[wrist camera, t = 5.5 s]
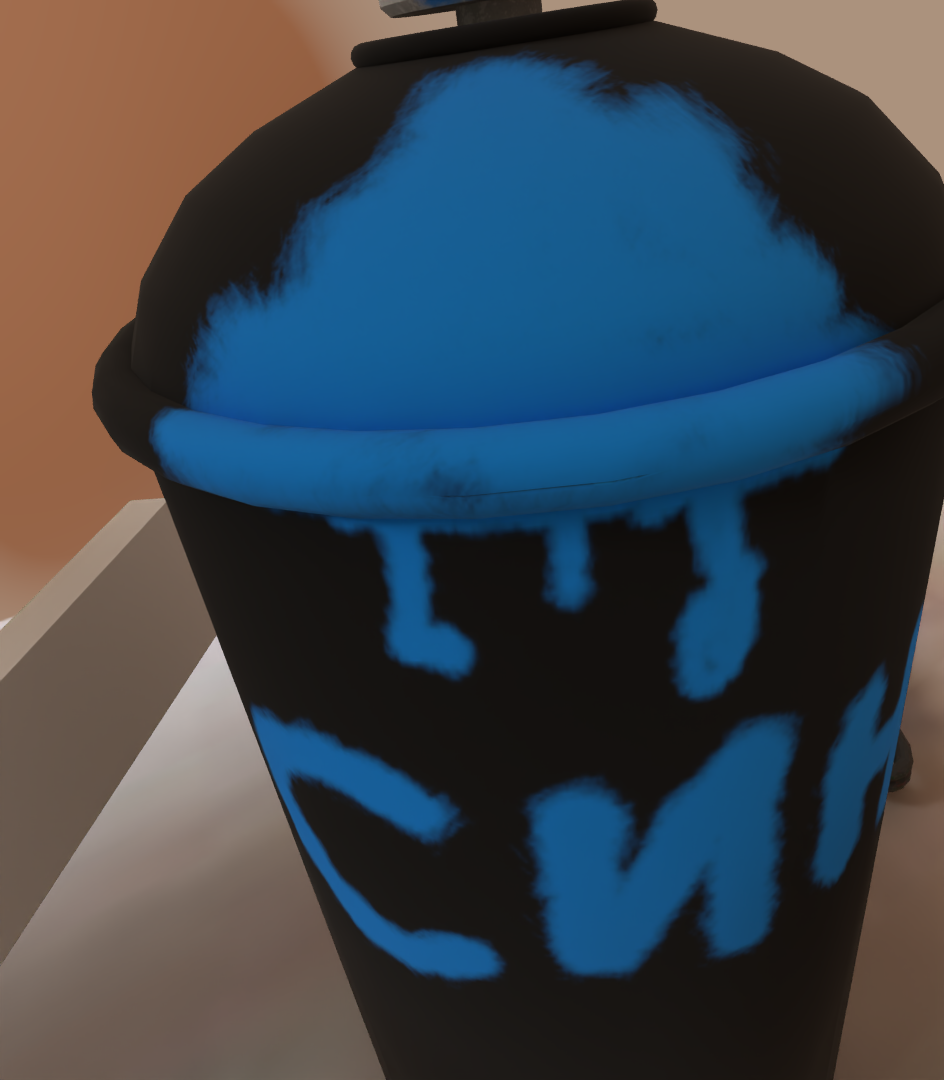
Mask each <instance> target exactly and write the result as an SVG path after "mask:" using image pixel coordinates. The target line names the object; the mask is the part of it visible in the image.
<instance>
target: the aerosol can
mask: <svg viewBox="0 0 944 1080" xmlns="http://www.w3.org/2000/svg"><path fill="white" fill-rule="evenodd" d="M379 4H380V8H381V10H383V11H384V12H385V13H386V14H387V15H388V16H390V17H391V18H401V17H411V16H419V15H427V14H434V13H441V12H448V11H455V10H456V16H457V25H458V26H456V27H450V28H444V29H438V30H432V31H426V32H420V33H415V34H409V35H403V36H397V37H391V38H386V39H381V40H375V41H370V42H365V43H361V44H359V45H357V46H355V47H354V48H353V50H352V52H351V60H352V62H353V65H354V66H355V67H357V68H355V69H354V70H352V71H350V72H349V73H347V74H346V75H344V76H342V77H341V78H339V79H338V80H336V81H334V82H333V83H331V84H330V85H328V86H326V87H325V88H323V89H322V90H320V91H318V92H317V93H315V94H313V95H312V96H310V97H309V98H307V99H306V100H304V101H302V102H301V103H299V104H297V105H296V106H294V107H293V108H291V109H290V110H288V111H286V112H285V113H283V114H281V115H280V116H278V117H277V118H275V119H274V120H272V121H270V122H269V123H267V124H266V125H264V126H262V127H261V128H259V129H257V130H256V131H254V132H253V133H252V134H251V135H250V136H249V137H248V138H247V139H245V140H244V141H243V142H242V143H241V144H240V145H239V146H238V147H237V148H236V149H235V150H234V151H233V152H232V153H231V154H229V156H227V157H226V158H225V159H224V160H223V161H222V162H221V163H220V164H219V165H218V166H217V167H216V168H215V169H213V170H212V171H211V172H210V173H209V174H208V175H207V176H206V177H205V178H204V179H203V180H202V181H201V182H200V183H199V184H198V185H196V186H195V187H194V188H193V189H192V190H191V191H190V192H189V193H188V194H187V195H186V196H185V198H184V200H183V201H182V204H181V205H180V207H179V209H178V211H177V213H176V215H175V217H174V219H173V221H172V223H171V224H170V226H169V228H168V230H167V232H166V234H165V236H164V238H163V240H162V242H161V244H160V246H159V248H158V250H157V251H156V253H155V255H154V257H153V259H152V261H151V263H150V265H149V267H148V269H147V271H146V272H145V274H144V276H143V278H142V280H141V285H140V292H139V299H138V306H137V312H136V318H134V319H133V320H132V321H130V322H129V323H128V324H127V325H125V326H124V327H122V328H121V329H120V331H119V332H118V333H117V335H116V336H115V337H114V339H113V340H112V341H111V343H110V344H109V345H108V347H107V348H106V349H105V351H104V352H103V353H102V355H101V357H100V359H99V361H98V362H97V364H96V368H95V374H94V381H93V389H92V397H93V408H94V410H95V412H96V413H97V415H98V417H99V418H100V420H101V422H102V423H103V425H104V426H105V428H106V430H107V431H108V433H109V435H110V436H111V438H112V439H113V440H114V442H115V443H116V444H117V446H119V448H120V449H121V451H122V452H124V453H125V454H127V455H129V456H130V457H132V458H133V459H135V460H137V461H138V462H140V463H142V464H143V465H145V466H147V467H148V468H150V469H152V470H153V471H154V472H155V475H156V477H157V480H158V483H159V485H160V488H161V490H162V493H163V496H164V498H165V501H166V504H167V506H168V509H169V511H170V514H171V517H172V519H173V522H174V525H175V527H176V530H177V532H178V535H179V538H180V540H181V543H182V546H183V548H184V551H185V553H186V556H187V559H188V561H189V564H190V567H191V569H192V572H193V574H194V577H195V580H196V582H197V585H198V588H199V590H200V593H201V595H202V598H203V601H204V603H205V606H206V608H207V611H208V614H209V616H210V619H211V622H212V624H213V627H214V629H215V632H216V635H217V637H218V640H219V643H220V645H221V648H222V650H223V653H224V656H225V658H226V661H227V664H228V666H229V669H230V671H231V674H232V677H233V679H234V682H235V684H236V687H237V690H238V692H239V695H240V698H241V700H242V703H243V705H244V708H245V711H246V713H247V716H248V719H249V721H250V724H251V726H252V729H253V732H254V734H255V737H256V740H257V742H258V745H259V747H260V750H261V753H262V755H263V758H264V760H265V763H266V766H267V768H268V771H269V774H270V776H271V779H272V781H273V784H274V787H275V789H276V792H277V795H278V797H279V800H280V802H281V805H282V808H283V810H284V813H285V816H286V818H287V821H288V823H289V826H290V829H291V831H292V834H293V837H294V839H295V842H296V844H297V847H298V850H299V852H300V855H301V857H302V860H303V863H304V865H305V868H306V871H307V873H308V876H309V878H310V881H311V884H312V886H313V889H314V892H315V894H316V897H317V899H318V902H319V905H320V907H321V910H322V913H323V915H324V918H325V920H326V923H327V926H328V928H329V931H330V933H331V936H332V939H333V941H334V944H335V947H336V949H337V952H338V954H339V957H340V960H341V962H342V965H343V968H344V970H345V973H346V975H347V978H348V981H349V983H350V986H351V989H352V991H353V994H354V996H355V999H356V1002H357V1004H358V1007H359V1009H360V1012H361V1015H362V1017H363V1020H364V1023H365V1025H366V1028H367V1030H368V1033H369V1036H370V1038H371V1041H372V1044H373V1046H374V1049H375V1051H376V1054H377V1057H378V1059H379V1062H380V1065H381V1067H382V1070H383V1072H384V1075H385V1078H386V1080H833V1076H834V1071H835V1066H836V1060H837V1055H838V1050H839V1045H840V1040H841V1034H842V1029H843V1024H844V1019H845V1013H846V1008H847V1003H848V998H849V992H850V987H851V982H852V977H853V971H854V966H855V961H856V956H857V950H858V945H859V940H860V935H861V930H862V924H863V919H864V914H865V909H866V903H867V898H868V893H869V888H870V882H871V877H872V872H873V867H874V861H875V856H876V851H877V846H878V840H879V835H880V830H881V825H882V820H883V814H884V809H885V804H886V799H887V793H888V788H889V783H890V778H891V772H892V767H893V762H894V757H895V751H896V746H897V741H898V736H899V730H900V725H901V720H902V715H903V710H904V704H905V699H906V694H907V689H908V683H909V678H910V673H911V668H912V662H913V657H914V652H915V647H916V641H917V636H918V631H919V626H920V620H921V615H922V610H923V605H924V599H925V594H926V589H927V584H928V579H929V573H930V568H931V563H932V558H933V552H934V547H935V542H936V537H937V531H938V526H939V521H940V516H941V510H942V505H943V500H944V184H943V181H942V179H941V176H940V174H939V172H938V171H937V170H936V169H935V168H934V167H933V166H932V165H931V164H930V163H929V162H928V161H927V159H926V158H925V157H924V156H923V155H922V154H921V153H920V152H919V151H918V150H917V149H916V148H915V146H914V145H913V144H912V143H911V142H910V141H909V140H908V139H907V138H906V137H905V136H904V135H903V134H902V133H901V131H900V130H899V129H898V128H897V127H896V126H895V125H894V124H893V123H892V122H891V121H890V120H889V119H888V117H887V116H886V115H885V114H884V113H883V112H882V111H881V110H880V109H879V108H878V107H877V106H876V105H875V103H874V102H873V101H872V100H871V99H870V98H869V97H868V96H866V95H864V94H863V93H861V92H859V91H857V90H855V89H853V88H851V87H849V86H847V85H845V84H843V83H841V82H839V81H837V80H835V79H833V78H831V77H829V76H827V75H824V74H822V73H820V72H818V71H816V70H814V69H812V68H810V67H808V66H806V65H804V64H802V63H800V62H798V61H796V60H794V59H792V58H790V57H787V56H785V55H783V54H781V53H779V52H777V51H773V50H769V49H765V48H761V47H757V46H753V45H749V44H745V43H741V42H737V41H733V40H729V39H725V38H721V37H717V36H713V35H709V34H705V33H701V32H697V31H693V30H689V29H685V28H682V27H677V26H673V25H670V24H665V23H662V22H657V21H654V19H655V17H656V14H657V6H656V3H655V2H654V1H653V0H620V1H614V2H608V3H601V4H593V5H587V6H580V7H574V8H567V9H561V10H554V11H548V12H542V3H541V0H379Z"/></svg>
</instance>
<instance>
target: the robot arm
mask: <svg viewBox="0 0 944 1080" xmlns="http://www.w3.org/2000/svg"><path fill="white" fill-rule="evenodd" d="M215 637H216V632H215V629H214V627H213V624H212V622H211V619H210V616H209V614H208V611H207V608H206V606H205V603H204V601H203V598H202V595H201V593H200V590H199V588H198V585H197V582H196V580H195V577H194V574H193V572H192V569H191V567H190V564H189V561H188V559H187V556H186V553H185V551H184V548H183V546H182V543H181V540H180V538H179V535H178V532H177V530H176V527H175V525H174V522H173V519H172V517H171V514H170V511H169V509H168V506H167V504H166V501H165V498H162V499H148V500H133V501H129V502H128V503H127V504H126V506H124V508H122V509H121V510H120V511H119V512H118V513H117V514H116V516H114V517H113V518H112V519H111V520H110V522H108V523H107V524H106V525H105V526H104V527H103V528H102V529H101V530H100V531H99V532H98V533H97V535H95V536H94V537H93V539H91V540H90V542H88V543H87V544H86V545H85V547H83V548H82V550H80V552H78V553H77V554H76V555H75V557H74V558H72V559H71V561H69V562H68V563H67V564H66V565H65V566H64V568H62V569H61V570H60V571H59V573H57V574H56V575H55V576H54V577H53V578H52V579H51V580H50V582H48V583H47V584H46V585H45V586H44V587H43V589H42V590H41V591H39V592H38V594H37V595H36V596H34V598H32V599H31V601H30V602H29V603H27V604H26V606H24V607H23V608H22V609H21V610H20V611H19V612H18V614H16V615H15V616H14V617H13V618H12V619H11V620H10V621H9V622H8V623H7V624H6V625H5V626H4V627H3V628H2V630H1V631H0V965H1V964H2V962H3V961H4V959H5V958H6V956H7V955H8V953H9V952H10V950H11V949H12V947H13V946H14V944H15V943H16V941H17V939H18V938H19V936H20V935H21V933H22V932H23V930H24V929H25V927H26V926H27V924H28V923H29V921H30V920H31V918H32V917H33V915H34V913H35V912H36V910H37V909H38V907H39V906H40V904H41V903H42V901H43V900H44V898H45V897H46V895H47V894H48V892H49V891H50V889H51V887H52V886H53V884H54V883H55V881H56V880H57V878H58V877H59V875H60V874H61V872H62V871H63V869H64V868H65V866H66V865H67V863H68V861H69V860H70V858H71V857H72V855H73V854H74V852H75V851H76V849H77V848H78V846H79V845H80V843H81V842H82V840H83V839H84V837H85V835H86V834H87V832H88V831H89V829H90V828H91V826H92V825H93V823H94V822H95V820H96V819H97V817H98V816H99V814H100V813H101V811H102V809H103V808H104V806H105V805H106V803H107V802H108V800H109V799H110V797H111V796H112V794H113V793H114V791H115V790H116V788H117V787H118V785H119V783H120V782H121V780H122V779H123V777H124V776H125V774H126V773H127V771H128V770H129V768H130V767H131V765H132V764H133V762H134V761H135V759H136V757H137V756H138V754H139V753H140V751H141V750H142V748H143V747H144V745H145V744H146V742H147V741H148V739H149V738H150V736H151V735H152V733H153V731H154V730H155V728H156V727H157V725H158V724H159V722H160V721H161V719H162V718H163V716H164V715H165V713H166V712H167V710H168V709H169V707H170V705H171V704H172V702H173V701H174V699H175V698H176V696H177V695H178V693H179V692H180V690H181V689H182V687H183V686H184V684H185V683H186V681H187V679H188V678H189V676H190V675H191V673H192V672H193V670H194V669H195V667H196V666H197V664H198V663H199V661H200V660H201V658H202V657H203V655H204V653H205V652H206V650H207V649H208V647H209V646H210V644H211V643H212V641H213V640H214V638H215Z"/></svg>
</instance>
